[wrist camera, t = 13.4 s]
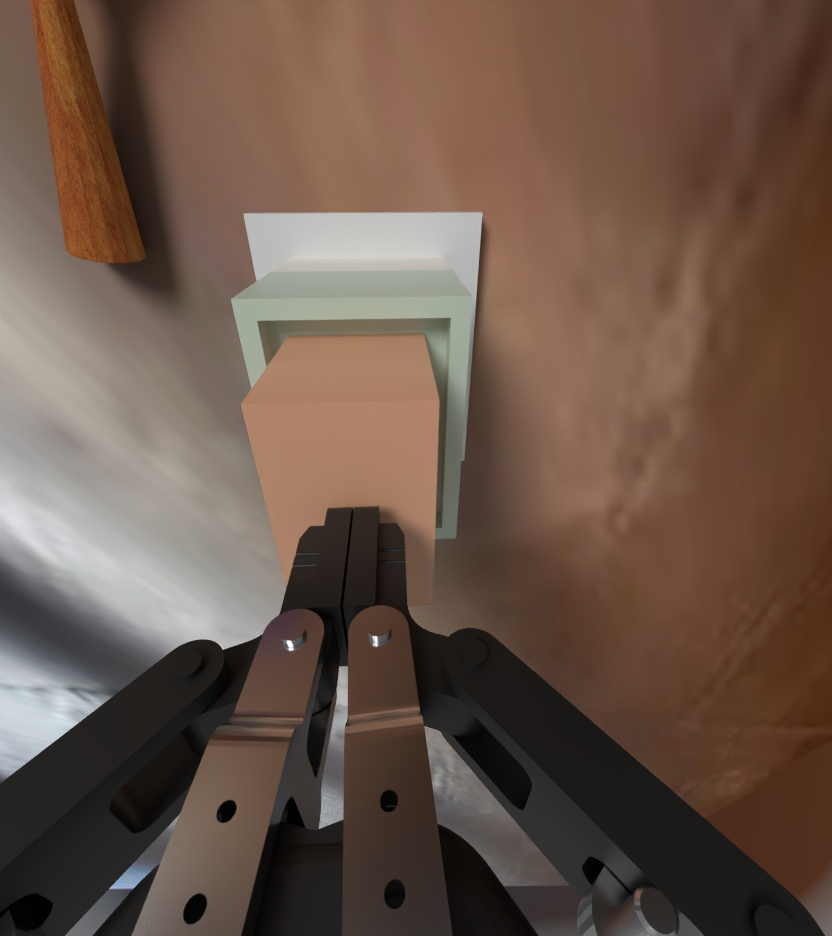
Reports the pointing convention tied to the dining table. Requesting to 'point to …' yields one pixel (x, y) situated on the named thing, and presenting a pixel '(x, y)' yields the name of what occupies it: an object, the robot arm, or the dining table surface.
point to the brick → (349, 440)
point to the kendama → (82, 143)
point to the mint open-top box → (372, 301)
